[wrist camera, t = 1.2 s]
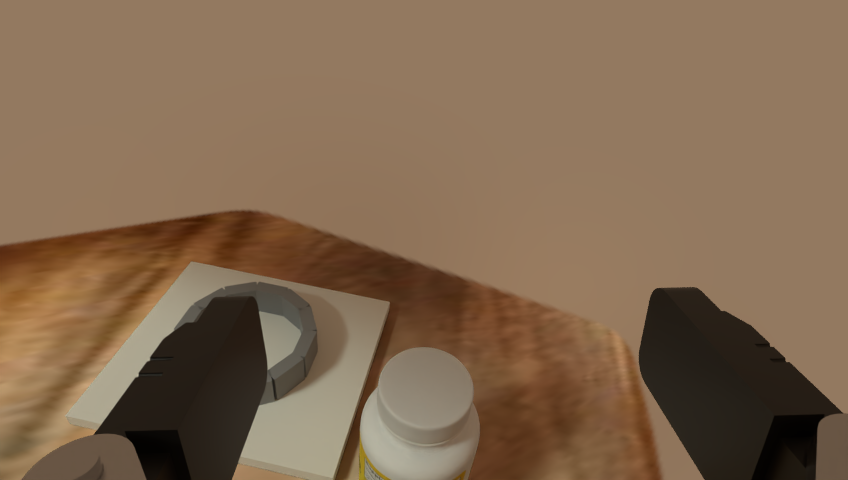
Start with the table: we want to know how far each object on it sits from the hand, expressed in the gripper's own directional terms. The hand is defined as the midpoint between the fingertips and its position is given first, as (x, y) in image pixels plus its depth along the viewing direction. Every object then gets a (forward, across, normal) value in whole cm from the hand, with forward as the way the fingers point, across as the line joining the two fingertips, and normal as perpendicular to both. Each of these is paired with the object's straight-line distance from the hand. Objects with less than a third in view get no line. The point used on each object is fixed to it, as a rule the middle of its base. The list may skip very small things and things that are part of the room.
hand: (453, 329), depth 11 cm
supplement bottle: (+10, +1, +18) cm, 21 cm away
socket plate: (+18, +11, +14) cm, 26 cm away
